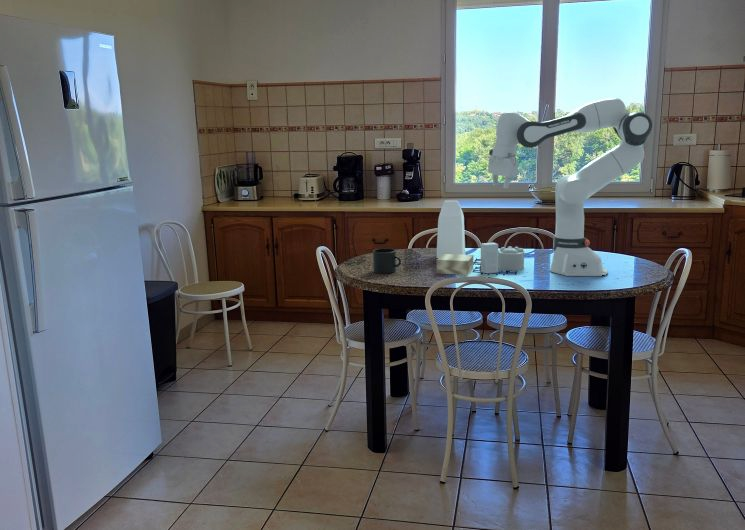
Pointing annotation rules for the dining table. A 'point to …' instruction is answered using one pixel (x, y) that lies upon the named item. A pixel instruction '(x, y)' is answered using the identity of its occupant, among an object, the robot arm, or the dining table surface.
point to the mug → (385, 261)
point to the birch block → (454, 264)
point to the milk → (451, 230)
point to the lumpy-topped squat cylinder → (511, 259)
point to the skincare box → (489, 257)
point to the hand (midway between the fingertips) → (500, 186)
